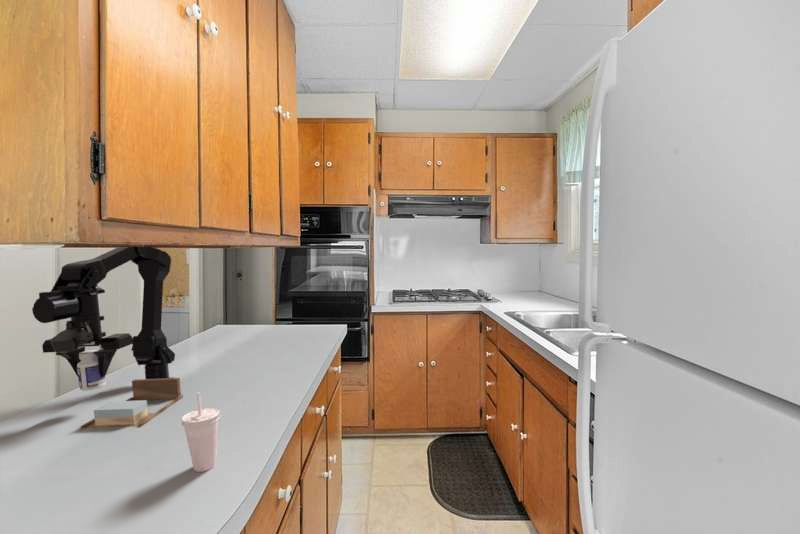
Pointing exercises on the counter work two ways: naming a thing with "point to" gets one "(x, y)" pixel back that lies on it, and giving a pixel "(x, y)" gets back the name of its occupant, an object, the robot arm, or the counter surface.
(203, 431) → the smoothie
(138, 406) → the offcut upper
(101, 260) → the robot arm
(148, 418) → the rack
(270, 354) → the counter surface
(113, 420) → the offcut lower
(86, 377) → the pill bottle
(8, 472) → the counter surface
